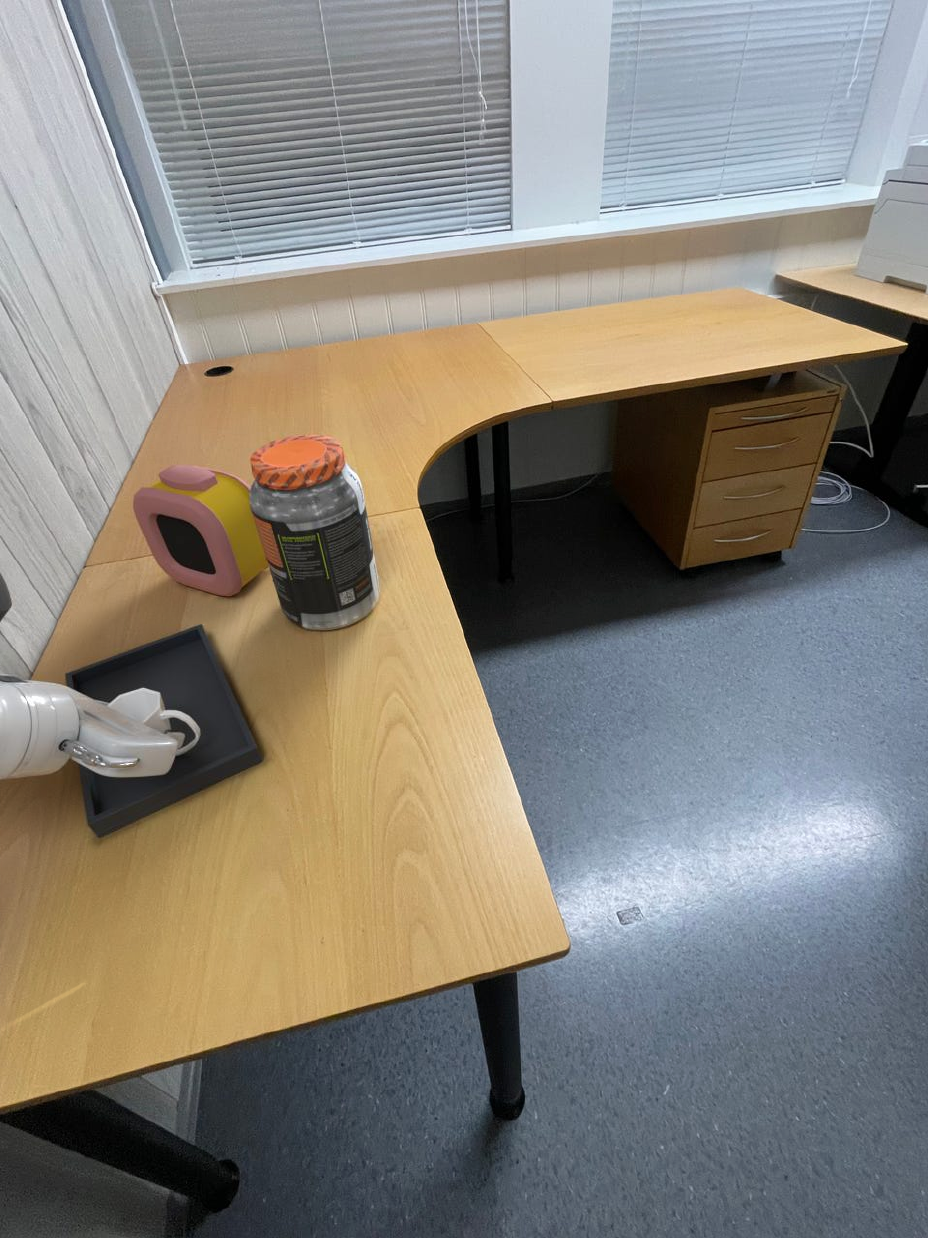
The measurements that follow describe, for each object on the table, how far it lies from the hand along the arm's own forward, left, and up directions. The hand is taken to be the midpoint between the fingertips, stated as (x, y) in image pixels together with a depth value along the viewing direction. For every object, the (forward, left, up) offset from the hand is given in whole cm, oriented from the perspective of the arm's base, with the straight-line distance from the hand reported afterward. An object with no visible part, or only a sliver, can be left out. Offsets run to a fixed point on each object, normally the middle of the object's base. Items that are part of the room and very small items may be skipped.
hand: (151, 725), depth 71 cm
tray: (+3, +5, -6) cm, 8 cm away
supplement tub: (+33, 0, -6) cm, 34 cm away
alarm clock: (+31, +22, -6) cm, 39 cm away
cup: (0, -1, -5) cm, 5 cm away
